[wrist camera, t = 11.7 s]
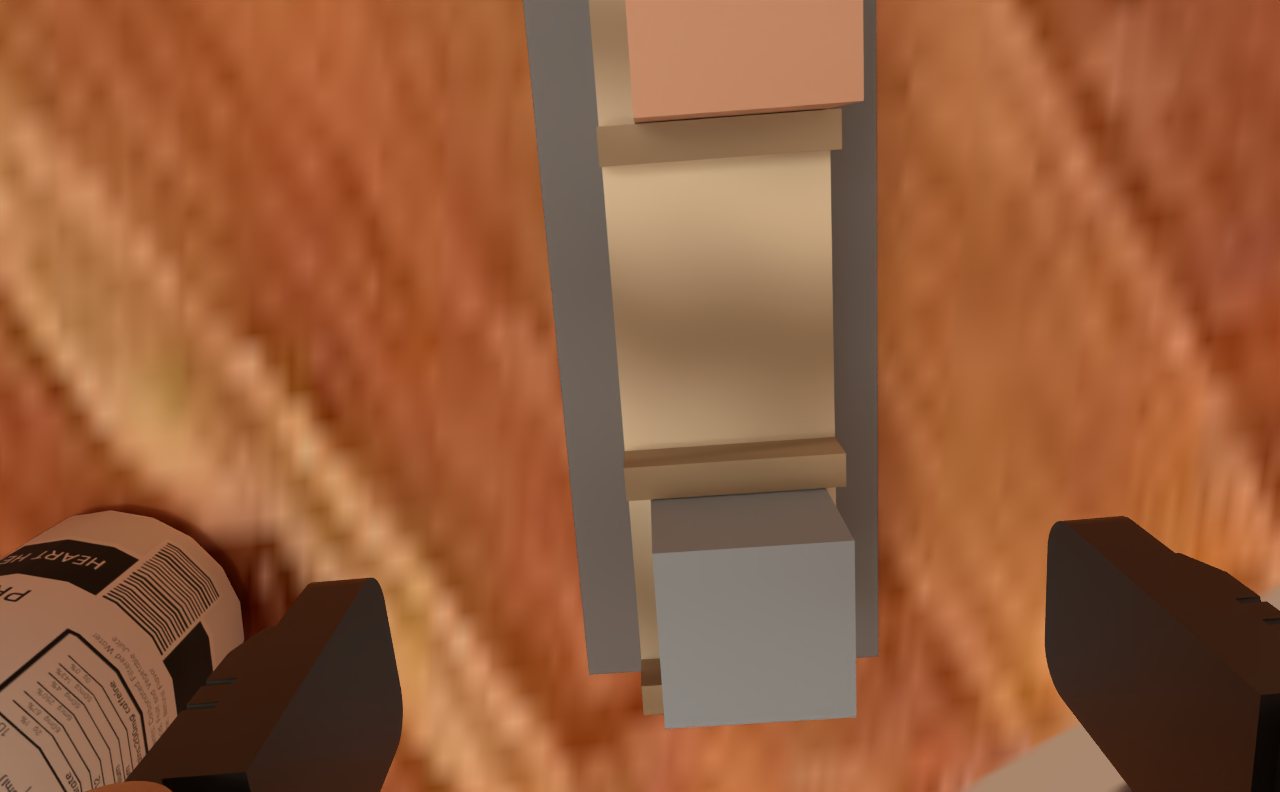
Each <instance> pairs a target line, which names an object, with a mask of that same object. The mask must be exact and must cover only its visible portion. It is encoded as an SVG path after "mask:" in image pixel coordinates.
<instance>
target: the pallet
mask: <svg viewBox="0 0 1280 792" xmlns="http://www.w3.org/2000/svg"><path fill="white" fill-rule="evenodd" d="M589 12H590V24H591V37H592V49H593V61H594V74H595V86H596V99H597V111H598V124H599V127H596V130H597V143H598V155H599V167H602V174H603V186H604V199H605V211H606V224H607V236H608V249H609V261H610V274H611V286H612V298H613V311H614V323H615V336H616V348H617V361H618V373H619V386H620V398H621V411H622V423H623V436H624V448H625V456H624V477H625V489H626V501H629V510H630V523H631V535H632V548H633V560H634V573H635V585H636V598H637V610H638V623H639V635H640V648H641V687H642V699H643V711H644V715H655V714H664V707H663V693H662V680H661V666H660V653H659V639H658V625H657V612H656V598H655V585H654V571H653V558H652V528H651V500H653V499H668V498H683V497H698V496H713V495H728V494H743V493H758V492H773V491H788V490H803V489H818V488H826V489H827V491H828V493H829V495H830V496H831V498H832V500H833V502H834V504H835V506H836V487H846V453H845V451H844V450H843V448H842V447H841V445H840V444H839V442H838V441H837V439H836V438H835V412H834V350H833V287H832V225H831V162H830V150H838V149H842V108H841V109H830V108H829V109H824V110H815V111H801V112H788V113H775V114H761V115H748V116H735V117H721V118H708V119H695V120H681V121H668V122H654V123H641V124H635V122H634V118H633V104H632V90H631V75H630V61H629V47H628V33H627V19H626V4H625V0H589Z"/></svg>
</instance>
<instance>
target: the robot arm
mask: <svg viewBox="0 0 1280 792" xmlns="http://www.w3.org/2000/svg"><path fill="white" fill-rule="evenodd" d="M1045 652H1046V658H1047V663H1048V668H1049V671H1050V675H1051V678H1052V680H1053V683H1054V685H1055V688H1056V690H1057V691H1058V693H1059V695H1060V696H1061V698H1062V699H1063V701H1064V702H1065V703H1066V705H1067V706H1068V707H1069V708H1070V710H1071V711H1072V712H1073V714H1074V715H1075V716H1076V718H1077V719H1078V720H1079V722H1080V723H1081V724H1082V725H1083V727H1084V728H1085V729H1086V731H1087V732H1088V733H1089V735H1090V736H1091V737H1092V738H1093V740H1094V741H1095V742H1096V744H1097V745H1098V746H1099V748H1100V749H1101V750H1102V752H1103V753H1104V754H1105V756H1106V757H1107V758H1108V759H1109V761H1110V762H1111V763H1112V765H1113V766H1114V767H1115V769H1116V770H1117V771H1118V773H1119V774H1120V775H1121V777H1122V778H1123V779H1124V780H1125V782H1126V783H1127V784H1128V786H1129V787H1130V788H1131V790H1132V791H1133V792H1280V611H1279V610H1278V609H1276V608H1275V607H1274V606H1272V605H1271V604H1270V603H1268V602H1261V600H1260V596H1259V595H1257V594H1256V593H1254V592H1253V591H1252V590H1250V589H1249V588H1248V587H1246V586H1245V585H1243V584H1242V583H1241V582H1239V581H1238V580H1237V579H1235V578H1234V577H1232V576H1231V575H1230V574H1228V573H1227V572H1225V571H1222V570H1220V569H1218V568H1215V567H1213V566H1210V565H1208V564H1205V563H1203V562H1200V561H1198V560H1195V559H1193V558H1191V557H1188V556H1186V555H1183V554H1181V553H1174V552H1173V551H1171V550H1170V549H1169V548H1168V547H1166V546H1165V545H1164V544H1162V543H1161V542H1160V541H1158V540H1157V539H1156V538H1154V537H1153V536H1152V535H1150V534H1149V533H1148V532H1147V531H1145V530H1144V529H1143V528H1141V527H1140V526H1139V525H1137V524H1136V523H1135V522H1133V521H1132V520H1131V519H1129V518H1127V517H1124V516H1117V517H1105V518H1093V519H1081V520H1069V521H1058V522H1056V523H1055V524H1054V525H1053V527H1052V528H1051V531H1050V534H1049V539H1048V554H1047V586H1046V618H1045ZM402 719H403V705H402V693H401V687H400V682H399V676H398V671H397V665H396V660H395V655H394V649H393V644H392V638H391V633H390V627H389V622H388V617H387V611H386V606H385V600H384V596H383V592H382V589H381V587H380V585H379V583H378V581H377V580H376V579H374V578H362V579H350V580H339V581H327V582H315V583H310V584H308V585H307V586H306V588H305V589H304V590H303V592H302V593H301V594H300V595H299V597H298V598H297V599H296V601H295V602H294V603H293V605H292V606H291V607H290V609H289V610H288V611H287V613H286V614H285V615H284V617H283V618H282V619H281V621H280V622H279V623H278V625H277V626H275V627H265V628H264V629H262V630H261V631H259V632H258V633H256V634H255V635H253V636H252V637H251V638H249V639H248V640H246V641H245V642H243V643H242V644H240V645H239V646H237V647H236V648H235V649H233V650H232V651H230V652H229V653H228V654H227V655H226V656H225V658H224V659H223V660H222V661H221V663H220V664H219V665H218V666H217V668H216V669H215V670H214V671H213V673H212V674H211V675H210V676H209V677H208V679H207V680H206V686H201V687H200V689H199V690H198V691H197V692H196V693H195V695H194V696H193V697H192V698H191V700H190V701H189V702H188V703H187V709H186V710H183V711H181V712H180V713H179V714H178V716H177V717H176V718H175V719H174V721H173V722H172V723H171V724H170V726H169V727H168V728H167V729H166V730H165V732H164V733H163V734H162V735H161V737H160V738H159V739H158V740H157V742H156V743H155V744H154V745H153V747H152V748H151V749H150V750H149V751H148V753H147V754H146V755H145V756H144V758H143V759H142V760H141V761H140V763H139V764H138V765H137V766H136V767H135V769H134V770H133V771H132V772H131V774H130V775H129V776H128V777H127V779H126V780H125V781H124V782H119V783H114V784H109V785H105V786H101V787H98V788H94V789H91V790H88V791H85V792H380V791H381V788H382V786H383V783H384V781H385V778H386V776H387V773H388V771H389V768H390V766H391V763H392V761H393V758H394V756H395V753H396V751H397V748H398V745H399V741H400V736H401V730H402Z"/></svg>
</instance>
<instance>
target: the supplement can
mask: <svg viewBox="0 0 1280 792" xmlns="http://www.w3.org/2000/svg"><path fill="white" fill-rule="evenodd" d="M243 641H244V632H243V623H242V615H241V606H240V601H239V599H238V597H237V595H236V593H235V591H234V589H233V587H232V586H231V584H230V582H229V580H228V578H227V576H226V574H225V572H224V570H223V568H222V567H221V566H220V565H219V564H218V563H217V562H216V561H215V560H214V559H213V558H212V557H211V556H210V555H209V554H208V553H207V552H206V551H205V550H204V549H203V548H202V547H201V546H200V545H199V544H198V543H197V542H196V541H195V540H194V539H193V538H192V537H190V536H188V535H186V534H184V533H182V532H180V531H178V530H176V529H174V528H172V527H170V526H168V525H166V524H164V523H163V522H161V521H159V520H157V519H155V518H152V517H146V516H141V515H135V514H129V513H123V512H118V511H112V510H109V511H103V512H97V513H90V514H84V515H77V516H71V517H69V518H67V519H65V520H63V521H62V522H60V523H58V524H56V525H55V526H53V527H51V528H49V529H48V530H46V531H44V532H42V533H41V534H39V535H37V536H36V537H34V538H33V539H31V540H29V541H28V542H26V543H25V544H23V545H22V546H20V547H18V548H17V549H15V550H14V551H12V552H11V553H9V554H8V555H6V556H4V557H3V558H1V559H0V792H85V791H88V790H91V789H94V788H98V787H101V786H105V785H109V784H114V783H119V782H124V781H125V780H126V779H127V777H128V776H129V775H130V774H131V772H132V771H133V770H134V769H135V767H136V766H137V765H138V764H139V763H140V761H141V760H142V759H143V758H144V756H145V755H146V754H147V753H148V751H149V750H150V749H151V748H152V747H153V745H154V744H155V743H156V742H157V740H158V739H159V738H160V737H161V735H162V734H163V733H164V732H165V730H166V729H167V728H168V727H169V726H170V724H171V723H172V722H173V721H174V719H175V718H176V717H177V716H178V714H179V713H180V712H181V711H183V710H186V709H187V703H188V702H189V701H190V700H191V698H192V697H193V696H194V695H195V693H196V692H197V691H198V690H199V689H200V687H201V686H206V680H207V679H208V677H209V676H210V675H211V674H212V673H213V671H214V670H215V669H216V668H217V666H218V665H219V664H220V663H221V661H222V660H223V659H224V658H225V656H226V655H227V654H228V653H229V652H230V651H232V650H233V649H235V648H236V647H237V646H239V645H240V644H242V643H243Z"/></svg>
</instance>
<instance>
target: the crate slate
mask: <svg viewBox="0 0 1280 792" xmlns="http://www.w3.org/2000/svg"><path fill="white" fill-rule="evenodd" d="M651 528H652V558H653V571H654V585H655V598H656V612H657V625H658V639H659V653H660V666H661V680H662V693H663V707H664V721H665V729H671V728H688V727H704V726H720V725H737V724H753V723H769V722H786V721H802V720H818V719H835V718H851V717H856V622H855V540H854V538H853V537H852V535H851V533H850V531H849V529H848V527H847V526H846V524H845V522H844V520H843V518H842V517H841V515H840V513H839V511H838V509H837V507H836V506H835V504H834V502H833V500H832V498H831V496H830V495H829V493H828V491H827V489H826V488H818V489H803V490H788V491H773V492H758V493H743V494H728V495H713V496H698V497H683V498H668V499H653V500H651Z"/></svg>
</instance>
